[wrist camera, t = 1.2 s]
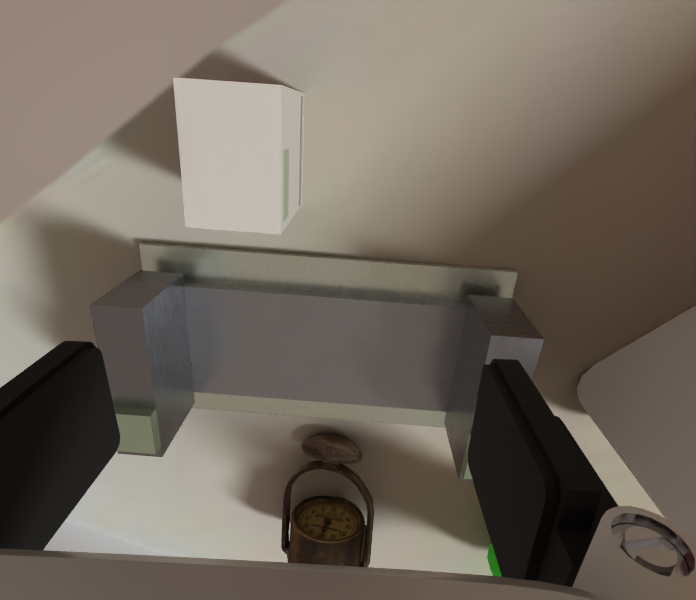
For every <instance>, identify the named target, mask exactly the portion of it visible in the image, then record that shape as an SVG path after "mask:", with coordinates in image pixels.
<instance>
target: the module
mask: <svg viewBox="0 0 696 600" xmlns="http://www.w3.org/2000/svg"><path fill="white" fill-rule="evenodd" d="M173 84H174V96H175V108H176V120H177V131H178V143H179V155H180V166H181V178H182V190H183V202H184V213H185V225H186V227H189V228H203V229H216V230H230V231H243V232H257V233H270V234H281V233H282V232H283V231H284V229H285V228H286V226H287V225H288V224H289V222H290V221H291V219H292V218H293V217H294V215H295V214H296V213H297V211H298V210H299V208H300V207H301V206H302V179H303V135H304V93H302V92H300V91H297V90H294V89H291V88H288V87H286V86H283V85H274V84H260V83H246V82H232V81H217V80H203V79H189V78H175V77H173Z"/></svg>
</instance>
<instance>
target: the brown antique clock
mask: <svg viewBox="0 0 696 600" xmlns="http://www.w3.org/2000/svg"><path fill="white" fill-rule="evenodd" d="M302 449H303V451H304V453H306V454H307V455H309V456H311V457H314V458H316V459H319V460H320V461H311V462H309V463H307V464H305V465H303V466H301V467H300V468H299V469H298V470H297V471H296V472H295V473H294V474H293V475H292V477H291V478H290V480H289V482H288V484H287V486H286V489H285V494H284V500H283V518H282V546H281V547H282V550H283V551H284V552H285V553H286V554H287V558H288V563H301V564H318V565H335V566H353V567H368V566H369V563H370V555H371V543H372V531H373V519H374V507H373V500H372V497H371V495H370V493H369V491H368V489H367V487H366V486H365V484H364V483H363V481H362V480H361V479H360V477H359V476H358V475H357V474H356V473H355V472H353V471H352V470H351V469H349V468H348V467H346V466H345V465H343V464H342V463H344V464H347V463H358V462H359V461H361V459H362V454H361V452H360V450H359V448H358V447H356V446H355V445H354V444H353V443H352V442H351V441H349V440H347V439H345V438H343V437H341V436H338V435H335V434H325V435H316V436H313V437H310V438H309V439H307V440H306V441H304V443H303V445H302ZM314 469H324V470H329V471H334V472H337V473H339V474H342V475H343V476H345V477H347V478H348V479H349V480H351V481H352V482H353V483H354V484H355V485H356V486H357V488H358V490H359V491H360V493H361V494H362V496H363V498H364V500H365V503H366V506H367V525H365V520H364V516H363V514H362V512H361V511H360V509H359V508H358V507H357V506H356V505H355V504H353V503H352V502H350V501H348V500H346V499H344V498H339V497H329V496H316V497H312V498H309V499H305V500H304V501H302V502H301V503H299V504H298V505H297V506H296V507H295V509H294V510H293V512H292V518H291V531H290V542H289V534H288V531H289V522H290V498H291V489H292V485H293V483H294V482H295V480H296V479H297V478H298V477H299V476H300V475H301V474H303V473H305V472H307V471H311V470H314Z"/></svg>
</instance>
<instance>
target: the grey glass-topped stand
mask: <svg viewBox="0 0 696 600" xmlns="http://www.w3.org/2000/svg"><path fill="white" fill-rule="evenodd" d="M139 248H140V256H141V264H142V270H140V271H139V272H137V273H136V274H134V275H133V276H131V277H130V278H128V279H127V280H126V281H124V282H123V283H121V284H120V285H118V286H117V287H115V288H114V289H112V290H111V291H109V292H108V293H107V294H105V295H104V296H102V297H101V298H99V299H98V300H96V301H95V302H93V303H92V304H91V305H90V307H91V313H92V318H93V323H94V328H95V334H96V339H97V344H98V349H100V350H101V352H102V355H103V360H104V364H105V369H106V373H107V378H108V382H109V387H110V391H111V396H112V400H113V405H114V410H115V414H116V419H117V423H118V428H119V432H120V444H119V447H118V449H117V451H118V454H131V455H143V456H156V457H163V455H164V453H165V452H166V450H167V448H168V447H169V445H170V443H171V442H172V440H173V438H174V437H175V435H176V433H177V432H178V430H179V428H180V426H181V425H182V423H183V421H184V420H185V418H186V416H187V415H188V413H189V411H190V410H191V408H203V409H215V410H228V411H241V412H254V413H266V414H279V415H292V416H305V417H317V418H330V419H343V420H355V421H368V422H381V423H394V424H406V425H419V426H432V427H445V428H446V431H447V435H448V439H449V443H450V447H451V451H452V455H453V459H454V463H455V467H456V471H457V475H458V479H459V481H469V482H473V479H472V476H471V473H470V469H469V465H468V448H469V443H470V437H471V431H472V425H473V420H474V414H475V408H476V402H477V396H478V391H479V385H480V379H481V373H482V368H483V366H484V365H485V364H490V363H491V361H492V360H493V359H513V360H518V361H519V362H520V363H521V365H522V366H523V368H524V369H525V371H526V373H527V374H528V376H529V377H530V379H531V380H532V382H533V378H534V375H535V371H536V368H537V364H538V360H539V357H540V353H541V350H542V346H543V342H544V338H543V337H542V336H541V335H540V333H539V332H538V331H537V330H536V328H535V327H534V326H533V324H532V323H531V322H530V321H529V319H528V318H527V317H526V316H525V314H524V313H523V312H522V311H521V309H520V308H519V307H518V306H517V304H516V303H515V302H514V301H513V299H512V296H513V292H514V288H515V283H516V279H517V275H518V272H517V271H516V270H512V269H498V268H485V267H471V266H458V265H445V264H431V263H418V262H404V261H391V260H377V259H364V258H350V257H337V256H324V255H310V254H297V253H283V252H270V251H256V250H243V249H230V248H216V247H203V246H189V245H176V244H162V243H149V242H142V243H140V244H139Z"/></svg>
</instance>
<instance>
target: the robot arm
mask: <svg viewBox="0 0 696 600" xmlns="http://www.w3.org/2000/svg"><path fill="white" fill-rule="evenodd" d="M119 444H120V432H119V428H118V423H117V419H116V414H115V410H114V405H113V400H112V396H111V391H110V387H109V382H108V378H107V373H106V369H105V364H104V360H103V355H102V352H101V350H100V349H98V348H96V347H95V345H94V344H93V343H91V342H81V341H64V342H62V343H61V344H59V345H58V346H57V347H55V348H54V349H52V350H51V351H50V352H48V353H47V354H46V355H44V356H43V357H42V358H40V359H39V360H38V361H36V362H35V363H34V364H32V365H31V366H29V367H28V368H27V369H25V370H24V371H23V372H21V373H20V374H19V375H17V376H16V377H15V378H13V379H12V380H11V381H9V382H8V383H6V384H5V385H4V386H2V387H1V388H0V600H696V544H695V543H694V541H693V540H692V539H691V538H690V537H689V536H688V535H687V534H686V533H685V532H683V531H682V530H681V529H680V528H678V527H677V526H676V525H675V524H673V523H671V522H670V521H668V520H666V519H665V518H663V517H661V516H660V515H657V514H655V513H652V512H650V511H647V510H645V509H641V508H636V507H632V506H618V505H617V504H616V502H615V500H614V499H613V497H612V496H611V494H610V493H609V491H608V490H607V488H606V487H605V485H604V484H603V482H602V481H601V479H600V478H599V476H598V475H597V473H596V472H595V470H594V469H593V467H592V465H591V464H590V462H589V461H588V459H587V458H586V456H585V455H584V453H583V452H582V450H581V449H580V447H579V446H578V444H577V443H576V441H575V440H574V438H573V437H572V435H571V434H570V432H569V431H568V429H567V427H566V426H565V424H564V423H563V422H562V420H561V419H560V418H559V417H556V416H554V415H553V413H552V411H551V410H550V408H549V407H548V405H547V404H546V402H545V401H544V399H543V397H542V396H541V394H540V393H539V391H538V390H537V388H536V387H535V385H534V383H533V382H532V380H531V379H530V377H529V376H528V374H527V373H526V371H525V369H524V368H523V366H522V365H521V363H520V362H519V361H518V360H513V359H493V360H492V361H491V363H490V364H485V365H484V366H483V368H482V373H481V379H480V385H479V391H478V396H477V402H476V408H475V414H474V420H473V425H472V431H471V437H470V443H469V448H468V465H469V469H470V473H471V476H472V479H473V483H474V486H475V489H476V493H477V496H478V499H479V503H480V506H481V509H482V513H483V516H484V519H485V522H486V526H487V529H488V532H489V536H490V539H491V542H492V546H493V549H494V552H495V556H496V559H497V562H498V566H499V569H500V572H501V576H502V577H498V576H485V575H472V574H459V573H446V572H432V571H419V570H405V569H387V568H370V567H353V566H335V565H318V564H301V563H283V562H265V561H246V560H227V559H208V558H189V557H169V556H150V555H130V554H129V555H128V554H110V553H88V552H66V551H44V550H43V549H44V548H45V546H46V545H47V544H48V542H49V541H50V539H51V538H52V537H53V535H54V534H55V533H56V531H57V530H58V529H59V528H60V526H61V525H62V524H63V522H64V521H65V519H66V518H67V517H68V515H69V514H70V513H71V511H72V510H73V509H74V507H75V506H76V505H77V503H78V502H79V501H80V499H81V498H82V497H83V495H84V494H85V493H86V491H87V490H88V489H89V487H90V486H91V485H92V483H93V482H94V481H95V479H96V478H97V477H98V475H99V474H100V473H101V471H102V470H103V469H104V467H105V466H106V465H107V463H108V462H109V460H110V459H111V458H112V456H113V455H114V454H115V452H116V451H117V449H118V447H119Z"/></svg>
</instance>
